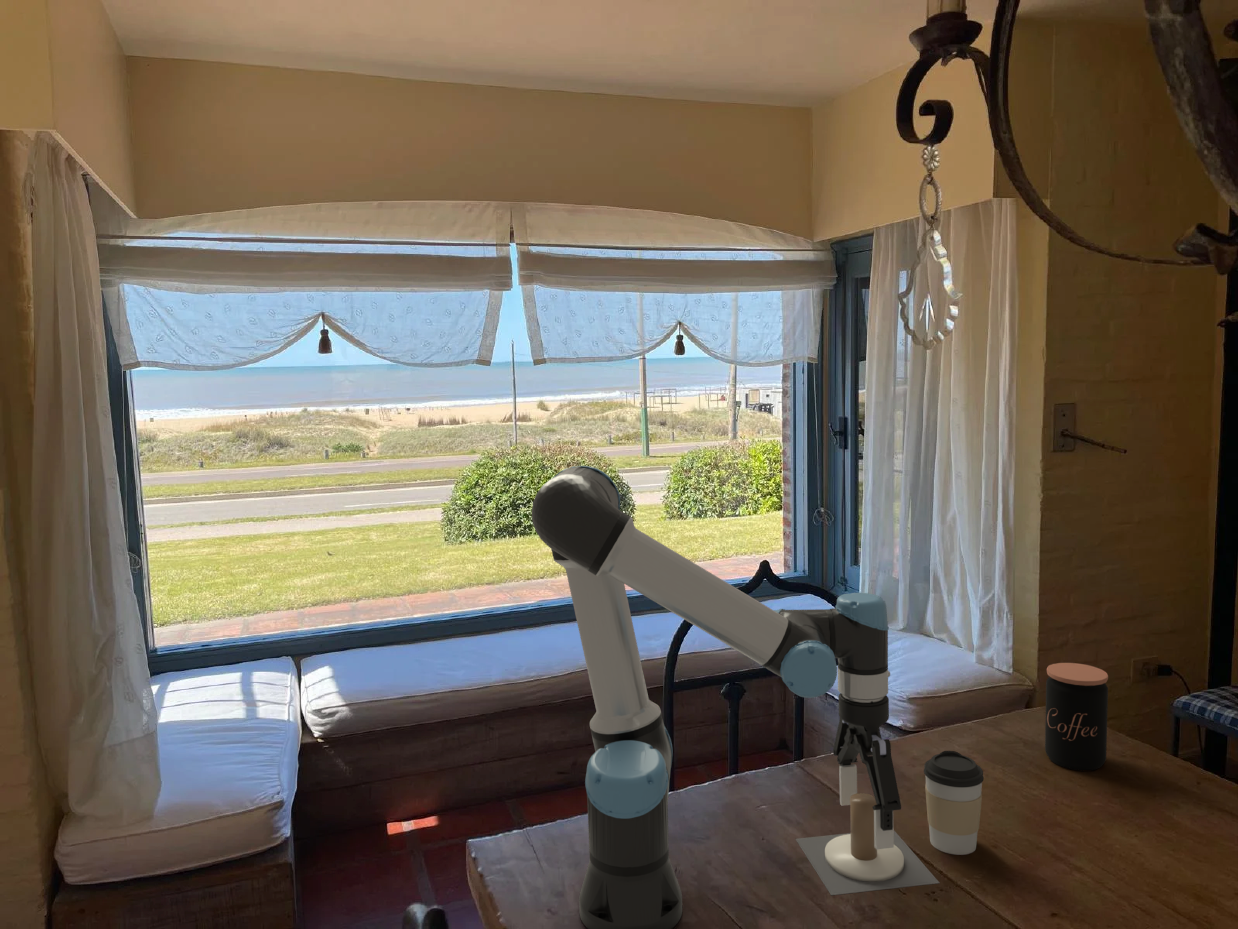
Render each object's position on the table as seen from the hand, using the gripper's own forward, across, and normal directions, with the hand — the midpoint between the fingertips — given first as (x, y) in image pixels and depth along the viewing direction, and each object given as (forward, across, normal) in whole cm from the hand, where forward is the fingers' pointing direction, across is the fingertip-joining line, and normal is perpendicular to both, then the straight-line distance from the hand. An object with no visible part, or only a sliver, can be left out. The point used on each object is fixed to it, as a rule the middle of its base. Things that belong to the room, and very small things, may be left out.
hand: (865, 824), depth 137 cm
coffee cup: (+7, +2, -16) cm, 17 cm away
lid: (+6, 0, 0) cm, 6 cm away
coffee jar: (+7, +27, -55) cm, 61 cm away
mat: (+7, 0, 0) cm, 7 cm away
